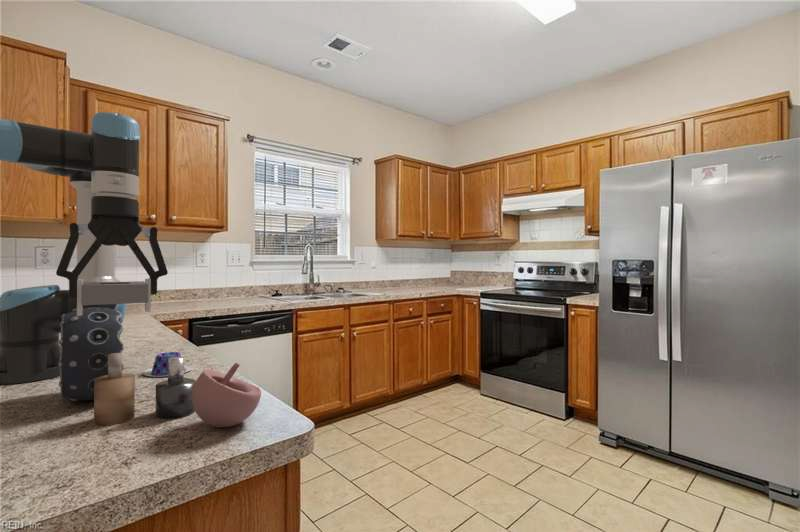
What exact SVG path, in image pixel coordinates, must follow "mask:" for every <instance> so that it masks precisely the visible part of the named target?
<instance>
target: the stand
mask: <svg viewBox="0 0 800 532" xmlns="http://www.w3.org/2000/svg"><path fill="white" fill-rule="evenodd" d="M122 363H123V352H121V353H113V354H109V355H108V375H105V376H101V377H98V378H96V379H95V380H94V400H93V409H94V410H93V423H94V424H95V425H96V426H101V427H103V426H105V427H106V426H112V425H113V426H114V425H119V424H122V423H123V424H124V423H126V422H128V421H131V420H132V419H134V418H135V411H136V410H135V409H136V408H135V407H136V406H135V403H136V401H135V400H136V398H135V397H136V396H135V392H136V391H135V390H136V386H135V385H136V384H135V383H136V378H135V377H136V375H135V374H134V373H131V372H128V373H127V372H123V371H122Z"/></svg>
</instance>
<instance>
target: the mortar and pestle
mask: <svg viewBox="0 0 800 532" xmlns="http://www.w3.org/2000/svg"><path fill="white" fill-rule="evenodd" d="M240 366H241V365H240V363H239V362H235V363H234V364H233V365H232V366H231V367H230V369H229V370H228V371H227V373H223V372H219V371H217V370H212V369H205V370H203V371H202V372H201V373H200V375H199V376H198V377H197V379H196V380H195V384H194V387H193V391H192V404H193V407H194V410H195V414H196V416H197V417H199V418H200V419H201V420H202V421H203V422H204V423H206V424H207V425H210V426H213V427H217V428H229V427H233V426H236V425H239V424H240V423H242V422H244V421H246V420H247V419H248V418H249V417H250V416H251V415H252V414H253V413H255V411H256V408H257V407H258V405H259V403H260V401H261V397H262V390H261V389H260V387H258V386H256V385H254V384H253V383H249V382H247V381H243V380H241V379H239V378H237V377H234V375H235V373H236V372H237V370H238V368H239V367H240Z"/></svg>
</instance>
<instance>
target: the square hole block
mask: <svg viewBox="0 0 800 532" xmlns="http://www.w3.org/2000/svg"><path fill="white" fill-rule="evenodd" d="M145 303H148V284H147V283H145V280H141V281H138V280H137V281H120V282H83V284H82V286H81V305H104V304H145Z"/></svg>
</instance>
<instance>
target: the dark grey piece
mask: <svg viewBox="0 0 800 532" xmlns="http://www.w3.org/2000/svg"><path fill="white" fill-rule="evenodd" d="M61 318H62V322H61V323H60V326H61V333H60V338H59V345H60V362H59V363H58V366H59V367H60V375H59V382H58V386H59V388H60V393H59V397H60V398H63V399H65V400H71V401H73V402H76V401H77V402H78V401H82V402H83V401H84V402H85V401H94V380H95V379H96V378H98V377H101V376H105V375H108V355H109V354H113V353H123V351H124V350H125V349H124V346H125V345H124V343H123V342H122V341H121V334H122V332H123V331H124V325H123V324H121V323H120V319H121V318H122V314H121V312H119V311H117V310H113V309H109V308H97V307H93V308H84V309H83V315H82V316H77V309H74V310H72V311H71V312H70V313H67V314H63V315H62V316H61ZM124 366H125V365H124V363H123V362H122V372H123V371H124Z"/></svg>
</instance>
